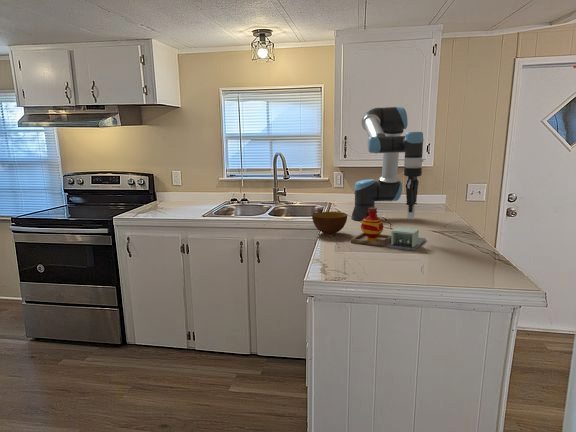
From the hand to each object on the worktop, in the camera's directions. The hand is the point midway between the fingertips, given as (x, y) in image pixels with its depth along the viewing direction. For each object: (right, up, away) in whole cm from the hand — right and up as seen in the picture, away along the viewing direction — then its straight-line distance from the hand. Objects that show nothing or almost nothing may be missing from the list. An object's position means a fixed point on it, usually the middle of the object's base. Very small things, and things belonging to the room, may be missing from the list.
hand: (410, 218), depth 185 cm
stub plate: (-2, -11, -3) cm, 12 cm away
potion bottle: (-17, -10, +4) cm, 20 cm away
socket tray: (-17, -11, +4) cm, 20 cm away
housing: (-5, -11, -7) cm, 14 cm away
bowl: (-35, -8, +20) cm, 41 cm away
